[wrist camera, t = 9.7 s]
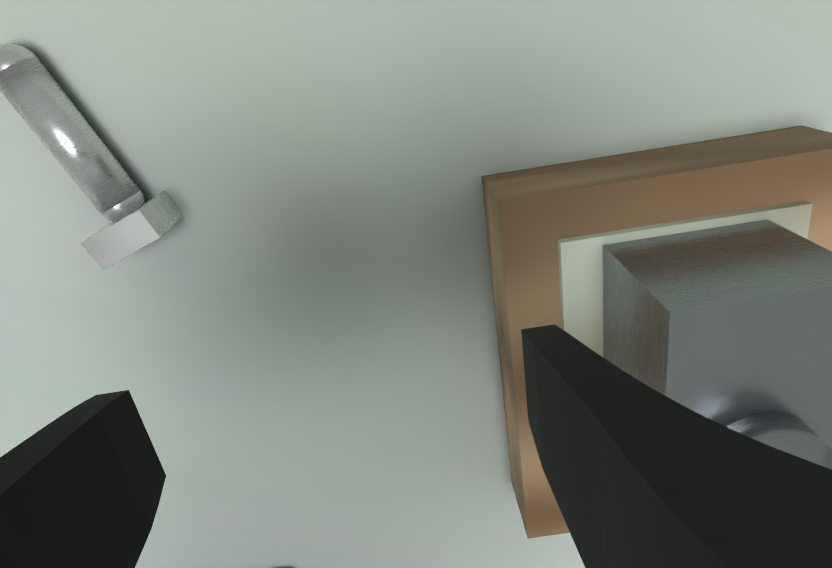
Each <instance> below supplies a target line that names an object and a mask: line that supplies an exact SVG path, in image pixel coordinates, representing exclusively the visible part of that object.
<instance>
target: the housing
mask: <svg viewBox="0 0 832 568" xmlns="http://www.w3.org/2000/svg"><path fill="white" fill-rule="evenodd" d="M603 358H605V359H606V360H608V361H609V362H611V363H612V364H614V365H615V366H617V367H618V368H620V369H621V370H623V371H625V372H626V373H628V374H629V375H631V376H633V377H634V378H636V379H637V380H639V381H641V382H642V383H644V384H646V385H647V386H649V387H651V388H652V389H654V390H656V391H658V392H660V393H661V394H663V395H665V396H667V397H669V398H670V399H672V400H674V401H676V402H677V403H679V404H681V405H683V406H685V407H687V408H689V409H691V410H692V411H694V412H696V413H698V414H700V415H702V416H704V417H706V418H709V419H711V420H713V421H715V422H717V423H719V424H721V425H724V426H726V427H728V428H730V429H732V430H734V431H737V432H739V433H741V434H743V435H745V436H747V437H750V438H752V439H754V440H757V441H759V442H762V443H764V444H766V445H769V446H771V447H774V448H776V449H779V450H781V451H784V452H787V453H789V454H792V455H795V456H797V457H800V458H802V459H805V460H808V461H810V462H813V463H816V464H818V465H821V466H824V467H826V468H829V469H832V251H830V250H828V249H826V248H824V247H822V246H820V245H818V244H816V243H814V242H812V241H810V240H808V239H806V238H804V237H802V236H800V235H798V234H796V233H794V232H792V231H790V230H788V229H786V228H784V227H782V226H780V225H778V224H776V223H774V222H772V221H770V220H768V219H766V220H759V221H753V222H747V223H740V224H734V225H727V226H721V227H715V228H708V229H702V230H695V231H689V232H683V233H676V234H670V235H663V236H657V237H650V238H644V239H638V240H631V241H625V242H618V243H612V244H606V245H603Z"/></svg>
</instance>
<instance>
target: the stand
mask: <svg viewBox="0 0 832 568" xmlns="http://www.w3.org/2000/svg"><path fill="white" fill-rule="evenodd" d="M482 181H483V191H484V202H485V212H486V222H487V232H488V242H489V253H490V263H491V273H492V283H493V293H494V304H495V314H496V324H497V334H498V344H499V355H500V365H501V375H502V385H503V396H504V406H505V416H506V426H507V436H508V447H509V457H510V467H511V477H512V485H513V488H514V492H515V495H516V499H517V502H518V506H519V509H520V513H521V516H522V520H523V523H524V527H525V530H526V534H527V537H528V538H535V537H541V536H548V535H555V534H561V533H568V532H570V531H569V529H568V527H567V524H566V522H565V520H564V517H563V515H562V513H561V511H560V508H559V506H558V504H557V501H556V499H555V497H554V494H553V492H552V490H551V487H550V485H549V483H548V480H547V478H546V476H545V473H544V471H543V469H542V465H541V462H540V459H539V455H538V452H537V449H536V446H535V442H534V439H533V435H532V432H531V428H530V425H529V421H528V411H527V398H526V385H525V372H524V359H523V346H522V334H521V329H527V328H534V327H540V326H547V325H553V324H555V325H557V326H558V327H560V328H561V329H563V330H564V331H566V332H567V333H569V334H570V335H571V336H573V337H574V338H576V339H577V340H579V341H580V342H581V343H583V344H584V345H586V346H587V347H589V348H590V349H591V350H593V351H594V352H596V353H597V354H599V355H600V356H602V357H603V245H606V244H612V243H618V242H625V241H631V240H638V239H644V238H650V237H657V236H663V235H670V234H676V233H683V232H689V231H695V230H702V229H708V228H715V227H721V226H727V225H734V224H740V223H747V222H753V221H759V220H766V219H768V220H770V221H772V222H774V223H776V224H778V225H780V226H782V227H784V228H786V229H788V230H790V231H792V232H794V233H796V234H798V235H800V236H802V237H804V238H806V239H808V240H810V241H812V242H814V243H816V244H818V245H820V246H822V247H824V248H826V249H828V250H830V251H832V133H830V132H825V131H821V130H817V129H813V128H809V127H805V126H798V127H792V128H786V129H779V130H773V131H767V132H760V133H754V134H748V135H741V136H735V137H729V138H722V139H716V140H710V141H703V142H697V143H691V144H684V145H678V146H672V147H665V148H659V149H653V150H646V151H640V152H634V153H627V154H621V155H615V156H608V157H602V158H595V159H589V160H583V161H576V162H570V163H564V164H557V165H551V166H545V167H538V168H532V169H526V170H519V171H513V172H507V173H500V174H494V175H488V176H482Z"/></svg>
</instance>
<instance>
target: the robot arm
mask: <svg viewBox="0 0 832 568" xmlns="http://www.w3.org/2000/svg"><path fill="white" fill-rule="evenodd" d="M521 334H522V346H523V359H524V372H525V385H526V398H527V411H528V421H529V425H530V428H531V432H532V435H533V439H534V442H535V446H536V449H537V452H538V455H539V459H540V462H541V465H542V469H543V471H544V473H545V476H546V478H547V480H548V483H549V485H550V487H551V490H552V492H553V494H554V497H555V499H556V501H557V504H558V506H559V508H560V511H561V513H562V515H563V517H564V520H565V522H566V524H567V527H568V529H569V531H570V533H571V536H572V538H573V540H574V543H575V545H576V547H577V549H578V552H579V554H580V556H581V559H582V561H583V563H584V565H585V568H832V469H829V468H826V467H824V466H821V465H818V464H816V463H813V462H810V461H808V460H805V459H802V458H800V457H797V456H795V455H792V454H789V453H787V452H784V451H781V450H779V449H776V448H774V447H771V446H769V445H766V444H764V443H762V442H759V441H757V440H754V439H752V438H750V437H747V436H745V435H743V434H741V433H739V432H737V431H734V430H732V429H730V428H728V427H726V426H724V425H721V424H719V423H717V422H715V421H713V420H711V419H709V418H706V417H704V416H702V415H700V414H698V413H696V412H694V411H692V410H691V409H689V408H687V407H685V406H683V405H681V404H679V403H677V402H676V401H674V400H672V399H670V398H669V397H667V396H665V395H663V394H661V393H660V392H658V391H656V390H654V389H652V388H651V387H649V386H647V385H646V384H644V383H642V382H641V381H639V380H637V379H636V378H634V377H633V376H631V375H629V374H628V373H626V372H625V371H623V370H621V369H620V368H618V367H617V366H615V365H614V364H612V363H611V362H609V361H608V360H606V359H605V358H603V357H602V356H600V355H599V354H597V353H596V352H594V351H593V350H591V349H590V348H589V347H587V346H586V345H584V344H583V343H581V342H580V341H579V340H577V339H576V338H574V337H573V336H571V335H570V334H569V333H567V332H566V331H564V330H563V329H561V328H560V327H558V326H557V325H555V324H553V325H547V326H540V327H534V328H527V329H521ZM165 478H166V475H165V472H164V470H163V468H162V465H161V463H160V461H159V459H158V456H157V454H156V452H155V449H154V447H153V445H152V442H151V440H150V438H149V436H148V433H147V431H146V429H145V426H144V424H143V422H142V420H141V417H140V415H139V413H138V410H137V408H136V406H135V403H134V401H133V399H132V397H131V394H130V392H129V390H126V391H120V392H113V393H107V394H101V395H95V396H94V397H92V398H90V399H88V400H86V401H84V402H83V403H81V404H79V405H78V406H76V407H74V408H73V409H71V410H70V411H68V412H66V413H65V414H63V415H62V416H60V417H59V418H57V419H56V420H54V421H53V422H51V423H50V424H48V425H47V426H45V427H44V428H42V429H41V430H40V431H38V432H37V433H35V434H34V435H32V436H31V437H29V438H28V439H26V440H25V441H24V442H22V443H21V444H19V445H18V446H16V447H15V448H13V449H12V450H11V451H9V452H8V453H6V454H5V455H3V456H2V457H0V568H135V566H136V563H137V561H138V559H139V556H140V554H141V552H142V549H143V547H144V545H145V542H146V540H147V538H148V535H149V533H150V530H151V528H152V525H153V521H154V518H155V515H156V511H157V508H158V505H159V501H160V497H161V493H162V489H163V485H164V481H165Z"/></svg>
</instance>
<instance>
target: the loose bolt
mask: <svg viewBox="0 0 832 568" xmlns="http://www.w3.org/2000/svg"><path fill="white" fill-rule="evenodd" d="M0 91H1V93H2V94H3V95H4V96H5V97H6V99H7V100H8V101H9V102H10V103H11V105H12V106H13V107H14V108H15V110H16V111H17V112H18V113H19V114H20V116H21V117H22V118H23V119H24V120H25V122H26V123H27V124H28V125H29V127H30V128H31V129H32V130H33V131H34V133H35V134H36V135H37V136H38V137H39V139H40V140H41V141H42V142H43V144H44V145H45V146H46V147H47V148H48V150H49V151H50V152H51V153H52V154H53V156H54V157H55V158H56V159H57V161H58V162H59V163H60V164H61V165H62V167H63V168H64V169H65V170H66V171H67V173H68V174H69V175H70V176H71V178H72V179H73V180H74V181H75V182H76V184H77V185H78V186H79V187H80V188H81V190H82V191H83V192H84V193H85V195H86V196H87V197H88V198H89V199H90V201H91V202H92V203H93V204H94V205H95V207H96V208H97V209H98V210H99V212H100V213H101V214H102V215H103V216H104V217H105V218H107V219H108V220H110V221H112V222H110V223H109V224H108V225H106V226H105V227H103V228H102V229H101V230H99V231H98V232H96V233H95V234H94V235H92V236H91V237H90V238H88V239H87V240H85V241H84V242H83V243H81V245H82V246H83V247H84V248H85V249H86V250H87V252H88V253H89V254H90V255H91V256H92V257H93V258H94V260H95V261H96V262H97V263H98V264H99V265H100V267H101V268H102V269H103V270H104V269H106V268H108V267H109V266H111V265H113V264H115V263H116V262H118V261H120V260H122V259H123V258H125V257H127V256H128V255H130V254H132V253H134V252H135V251H137V250H139V249H141V248H142V247H144V246H146V245H148V244H149V243H151V242H153V241H155V240H156V239H158V238H160V237H161V236H162V235H163V234H164V233H165V232H166V231H167V230H168V229H169V228H170V227H171V226H173V225H174V224H175V223H176V222H177V221H178V220H179V219H180V218H181V217H182V216H183V215H182V214H181V212H180V211H179V210H178V208H177V207H176V206H175V204H174V203H173V202H172V200H171V199H170V198H169V196H168V195H167V194H166V193H165V191H163V192H161V193H159V194H157V195H156V196H154V197H152V198H151V199H149V200H147V201H146V202H145V199H144V196H143V194H142V192H141V191H140V189H139V188H138V187H137V185H136V184H135V183H134V181H133V180H132V179H131V178H130V176H129V175H128V174H127V172H126V171H125V170H124V169H123V167H122V166H121V165H120V163H119V162H118V161H117V160H116V158H115V157H114V156H113V154H112V153H111V152H110V151H109V149H108V148H107V147H106V145H105V144H104V143H103V141H102V140H101V139H100V138H99V136H98V135H97V134H96V132H95V131H94V130H93V129H92V127H91V126H90V125H89V123H88V122H87V121H86V120H85V118H84V117H83V116H82V114H81V113H80V112H79V111H78V109H77V108H76V107H75V105H74V104H73V103H72V102H71V100H70V99H69V98H68V96H67V95H66V94H65V93H64V91H63V90H62V89H61V87H60V86H59V85H58V84H57V82H56V81H55V80H54V78H53V77H52V76H51V75H50V73H49V72H48V71H47V69H46V68H45V67H44V65H43V64H42V63H41V62H40V60H39V59H38V58H37V57H36V56H35V54H34V53H32V52H31V51H30V50H28V49H27V48H25V47H23V46H20V45H17V44H11V43H5V44H1V45H0Z"/></svg>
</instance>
